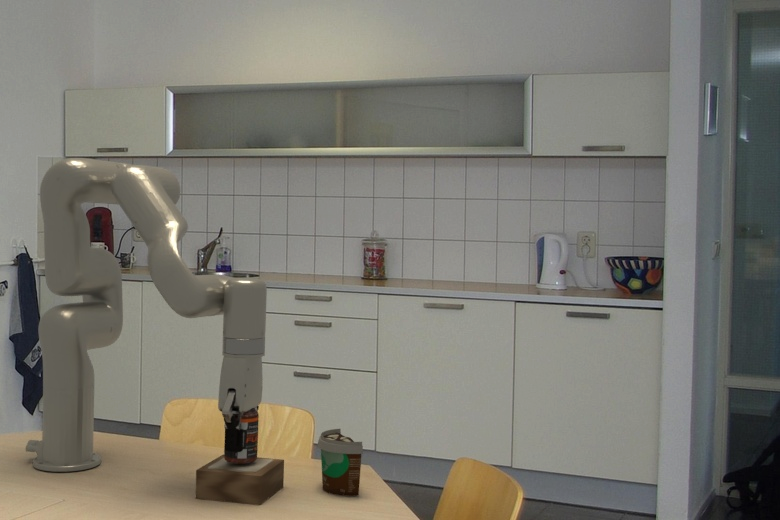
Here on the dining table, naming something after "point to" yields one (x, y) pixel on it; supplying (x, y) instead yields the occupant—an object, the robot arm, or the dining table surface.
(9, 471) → the dining table surface
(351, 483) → the food container
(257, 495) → the walnut base
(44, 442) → the robot arm
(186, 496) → the dining table surface
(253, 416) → the supplement bottle
